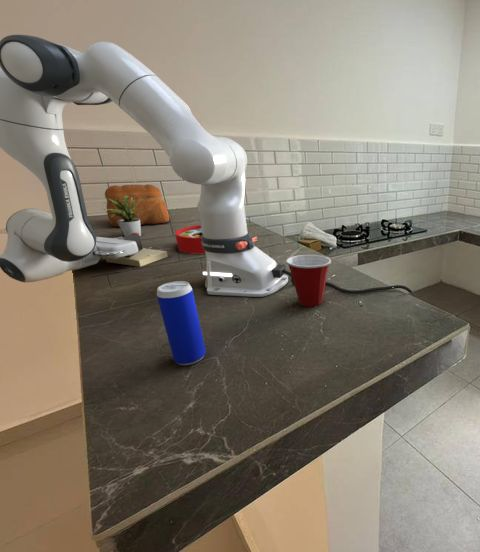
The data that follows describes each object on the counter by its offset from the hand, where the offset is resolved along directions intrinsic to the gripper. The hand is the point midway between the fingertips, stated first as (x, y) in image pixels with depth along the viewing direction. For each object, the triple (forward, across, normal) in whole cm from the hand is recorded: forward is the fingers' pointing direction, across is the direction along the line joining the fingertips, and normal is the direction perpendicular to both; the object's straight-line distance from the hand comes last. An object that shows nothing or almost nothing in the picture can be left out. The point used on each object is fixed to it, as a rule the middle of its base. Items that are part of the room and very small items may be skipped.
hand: (127, 239), depth 106 cm
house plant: (+20, +23, +6) cm, 31 cm away
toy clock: (+18, -14, +6) cm, 24 cm away
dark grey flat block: (-1, -3, +4) cm, 5 cm away
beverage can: (-41, -60, +6) cm, 73 cm away
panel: (-1, -4, +6) cm, 7 cm away
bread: (+37, +37, +6) cm, 52 cm away
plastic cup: (-13, -71, +6) cm, 72 cm away
